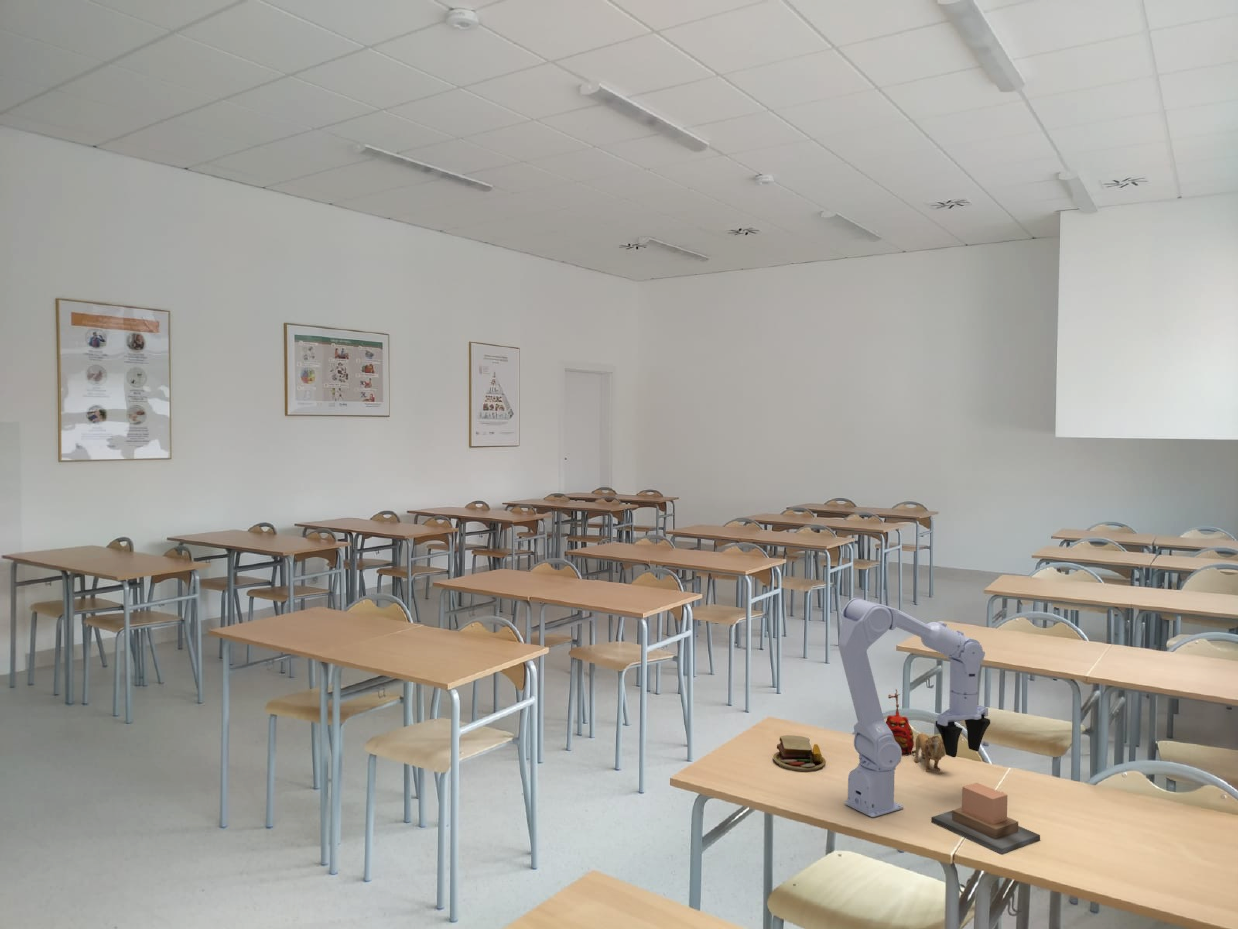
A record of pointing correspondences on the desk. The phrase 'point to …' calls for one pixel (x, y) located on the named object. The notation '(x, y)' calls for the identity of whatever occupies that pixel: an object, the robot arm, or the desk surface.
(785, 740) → the toy sandwich meal
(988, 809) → the terracotta brick
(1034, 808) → the desk surface
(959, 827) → the tower base
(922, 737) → the lion figurine
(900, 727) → the red clay folk toy
